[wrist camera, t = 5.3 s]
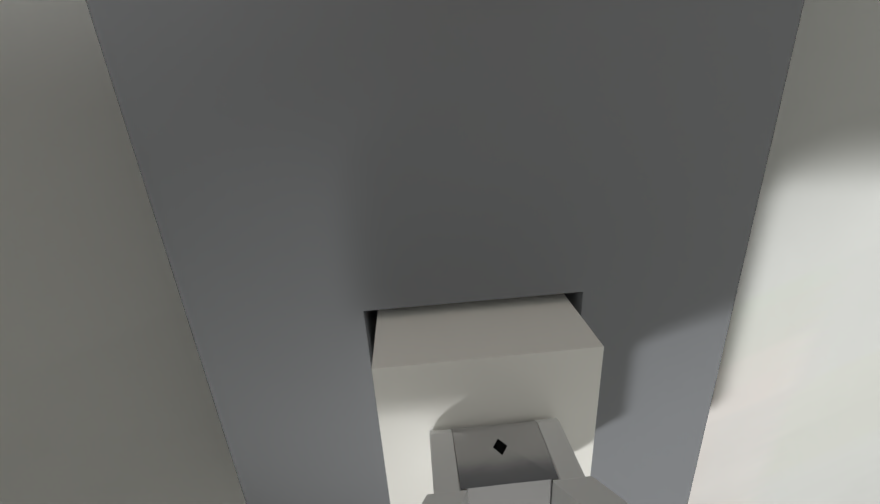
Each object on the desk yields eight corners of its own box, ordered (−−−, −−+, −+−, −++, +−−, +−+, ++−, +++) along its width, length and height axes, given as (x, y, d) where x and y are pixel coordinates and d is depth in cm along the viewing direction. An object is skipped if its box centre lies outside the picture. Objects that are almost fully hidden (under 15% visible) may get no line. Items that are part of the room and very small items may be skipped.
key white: (540, 401, 15) (586, 508, 11) (396, 416, 15) (394, 531, 11) (546, 270, 13) (604, 346, 9) (380, 284, 13) (371, 369, 9)
